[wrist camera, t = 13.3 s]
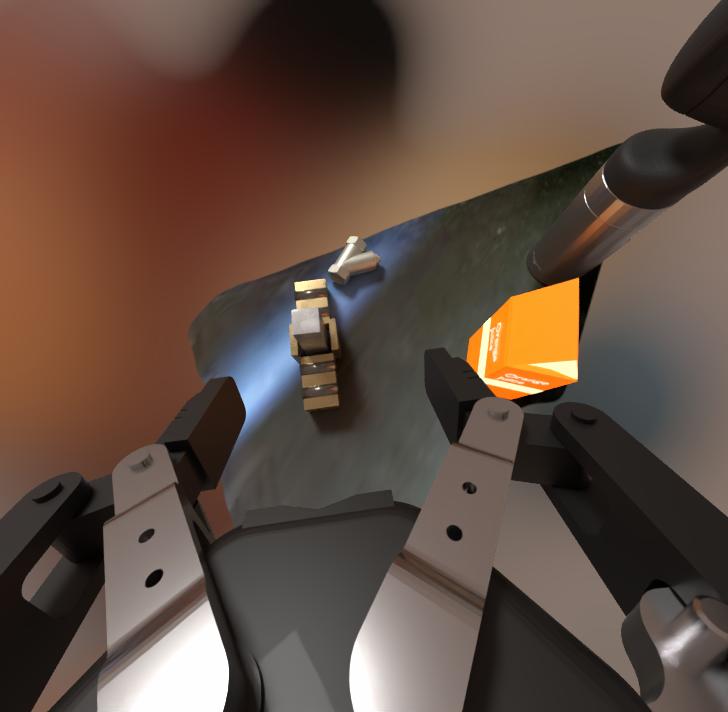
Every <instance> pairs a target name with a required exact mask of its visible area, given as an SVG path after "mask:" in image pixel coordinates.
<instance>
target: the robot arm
mask: <svg viewBox="0 0 728 712" xmlns="http://www.w3.org/2000/svg"><path fill="white" fill-rule="evenodd" d="M661 97H662V99H663V100H664V102H665V103H666V104H667V105H668V106H669V107H670V108H671V109H673V110H674V111H676V112H678V113H681V114H683V115H684V114H685V115H686V116H688V117H691V118H693V119H695V120H698V121H700V122H702V123H705V125H701V126H696V127H691V128H675V129H674V128H673V129H651V130H646V131H642V132H640V133H637V134H635V135H633V136H631V137H630V138H628V139H627V140H626V141H624V142H623V143H622V144H621V145H620V146H619V147H618V148H617V150H616V151H615V152H614V153H613V154H612V155H611V157H610V158H609V159H608V160H607V161H606V163H605V164H604V165H603V166H602V167H601V168H600V170H599V171H598V172H597V173H596V174H595V175H594V177H593V178H592V179H591V180H590V181H589V183H588V184H587V185H586V186H585V187H584V188H583V190H582V191H581V192H580V193H579V194H578V195H577V197H576V198H575V199H574V200H573V201H572V202H571V204H570V205H569V206H568V207H567V208H566V209H565V211H564V212H563V213H562V214H561V215H560V217H559V218H558V219H557V220H556V221H555V222H554V224H553V225H552V226H551V227H550V228H549V229H548V231H547V232H546V233H545V234H544V235H543V236H542V237H541V239H540V240H539V241H538V242H537V243H536V244H535V246H534V247H533V248H532V249H531V250H530V252H529V254H528V257H527V265H528V268H529V270H530V272H531V274H532V275H533V276H534V277H535V278H536V279H537V280H538V281H540V282H542V283H544V284H546V285H549V286H552V285H556V284H559V283H562V282H566V281H569V280H573V279H576V278H579V277H581V276H584V275H585V274H587V273H588V272H589V271H591V270H592V269H593V268H594V267H596V266H597V265H598V264H600V263H601V262H602V261H604V260H605V259H606V258H608V257H609V256H610V255H611V254H613V253H614V252H615V251H617V250H618V249H619V248H621V247H622V246H623V245H625V244H626V243H627V242H629V240H630V239H631V237H632V236H634V235H635V234H637V233H638V232H639V231H640V230H642V229H643V228H644V227H646V226H647V225H648V224H649V223H651V222H652V221H653V220H655V219H656V218H657V217H658V216H660V215H661V214H662V213H663V212H665V211H666V210H668V209H669V208H670V207H671V206H673V205H674V204H675V203H677V202H678V201H679V200H681V199H682V198H683V197H685V196H686V195H687V194H688V193H690V192H692V191H694V190H695V189H697V188H698V187H700V186H701V185H703V184H704V183H706V182H707V181H708V180H709V179H711V178H712V177H714V176H715V175H716V174H718V173H719V172H720V171H721V170H723V169H724V168H726V167H727V166H728V0H721V1H720V2H719V3H718V4H717V5H716V7H715V8H714V9H713V10H712V11H711V12H710V13H709V15H708V16H707V17H706V18H705V19H704V20H703V21H702V23H701V24H700V25H699V26H698V28H697V29H696V30H695V31H694V33H693V34H692V35H691V36H690V38H689V39H688V40H687V42H686V43H685V45H684V46H683V47H682V49H681V50H680V52H679V53H678V55H677V56H676V58H675V59H674V61H673V62H672V64H671V66H670V68H669V70H668V72H667V74H666V76H665V78H664V82H663V85H662V89H661ZM424 361H425V388H426V393H427V396H428V398H429V400H430V402H431V404H432V406H433V408H434V410H435V413H436V415H437V417H438V419H439V421H440V423H441V425H442V427H443V429H444V432H445V434H446V436H447V438H448V440H449V442H450V444H451V446H450V448H449V450H448V453H447V455H446V457H445V459H444V461H443V464H442V466H441V468H440V470H439V472H438V474H437V477H436V479H435V481H434V483H433V485H432V488H431V490H430V492H429V494H428V496H427V498H426V501H425V503H424V505H423V507H422V509H420V508H418V507H416V506H413V505H410V504H407V503H403V502H397V501H393V496H392V491H391V490H385V491H378V492H371V493H364V494H357V495H354V496H352V497H349V498H347V499H344V500H342V501H339V502H336V503H334V504H331V505H329V506H326V507H324V508H321V509H309V508H300V507H291V506H276V507H269V508H262V509H256V510H249V511H247V512H246V515H245V518H244V522H243V525H240V526H238V527H236V528H234V529H232V530H230V531H229V532H227V533H225V534H224V535H222V536H221V537H219V538H218V539H217V540H216V539H215V537H214V535H213V533H212V530H211V527H210V525H209V522H208V520H207V517H206V515H205V512H204V510H203V507H202V505H201V503H200V501H199V500H198V496H199V494H200V492H201V491H206V490H213V489H216V487H217V484H218V482H219V480H220V478H221V475H222V473H223V471H224V468H225V466H226V464H227V461H228V459H229V457H230V454H231V452H232V450H233V447H234V445H235V443H236V440H237V438H238V436H239V433H240V431H241V429H242V426H243V424H244V422H245V418H246V410H245V406H244V403H243V401H242V398H241V396H240V393H239V391H238V388H237V386H236V383H235V381H234V379H233V378H232V377H230V376H229V377H221V378H214V379H210V380H209V381H208V383H207V384H206V385H205V387H204V388H203V390H202V391H201V392H200V393H198V394H196V395H195V396H194V397H192V398H191V399H190V400H188V401H187V403H186V404H185V405H184V406H183V408H182V409H181V412H179V413H178V414H177V416H176V417H175V420H173V421H172V422H171V423H170V425H169V426H168V427H167V429H166V430H165V431H164V433H163V434H162V435H161V436H160V438H159V439H158V440H157V442H156V443H155V444H154V445H149V446H146V447H143V448H141V449H138V450H137V451H135V452H133V453H131V454H130V455H128V456H127V457H125V458H124V459H123V460H122V461H121V462H120V463H119V464H118V465H117V466H116V467H115V469H114V471H113V473H112V474H110V475H107V476H104V477H101V478H98V479H95V480H93V481H90V482H87V481H86V480H85V479H84V478H83V477H82V475H80V474H79V473H77V472H69V473H65V474H62V475H59V476H56V477H54V478H51V479H49V480H47V481H46V482H44V483H42V484H40V485H39V486H37V487H36V488H34V489H33V490H31V491H30V492H29V493H28V494H26V495H25V496H24V497H23V498H22V499H21V500H20V501H19V502H18V503H17V504H16V505H15V506H14V507H13V508H12V509H11V510H10V511H9V512H8V513H7V514H6V515H5V516H4V517H3V518H1V519H0V712H31V711H32V709H33V707H34V706H35V704H36V702H37V700H38V698H39V697H40V695H41V693H42V691H43V690H44V688H45V686H46V684H47V683H48V681H49V679H50V677H51V676H52V674H53V672H54V670H55V669H56V667H57V665H58V663H59V661H60V660H61V658H62V656H63V655H64V653H65V651H66V649H67V647H68V646H69V644H70V642H71V641H72V639H73V637H74V635H75V634H76V632H77V630H78V628H79V626H80V625H81V623H82V621H83V620H84V618H85V616H86V614H87V613H88V611H89V609H90V607H91V605H92V604H93V602H94V600H95V599H96V597H97V595H98V593H99V591H100V590H101V588H102V586H103V585H104V583H105V589H106V590H105V591H106V618H107V619H106V620H107V646H108V650H107V651H106V652H105V653H104V654H103V655H102V656H101V657H100V658H99V659H98V660H97V661H96V662H95V663H94V664H93V665H92V666H91V667H90V669H88V670H87V672H85V673H84V675H83V676H82V677H81V678H80V679H79V680H78V681H77V682H76V683H75V684H74V685H73V686H72V687H71V688H70V689H69V690H68V691H67V692H66V693H65V694H64V695H63V696H62V698H60V699H59V701H57V703H56V704H55V705H54V706H53V707H52V708H51V709H50V710H49V711H48V712H728V517H727V516H726V515H725V514H723V513H722V512H721V511H720V510H719V509H718V508H716V507H715V506H714V505H713V504H712V503H710V502H709V501H708V500H707V499H706V498H704V497H703V496H702V495H701V494H700V493H699V492H697V491H696V490H695V489H694V488H693V487H692V486H690V485H689V484H688V483H687V482H686V481H684V480H683V479H682V478H681V477H680V476H679V475H677V474H676V473H675V472H674V471H673V470H672V469H670V468H669V467H668V466H667V465H665V464H664V463H663V462H662V461H661V460H659V458H657V457H656V456H655V455H654V454H653V453H651V452H650V451H649V450H648V449H647V448H645V447H644V446H643V445H642V444H641V443H640V442H638V441H637V440H636V439H635V438H634V437H633V436H631V435H630V434H629V433H628V432H627V431H625V430H624V429H623V428H622V427H621V426H620V425H618V424H617V423H616V422H615V421H614V420H612V419H611V418H610V417H609V416H608V415H606V414H605V413H604V412H602V411H600V410H599V409H596V408H594V407H592V406H589V405H585V404H581V403H575V402H566V403H562V404H559V405H557V406H556V407H555V408H554V411H553V415H540V414H529V413H523V411H522V409H521V408H520V407H519V406H518V405H517V404H515V403H514V402H512V401H510V400H507V399H504V398H499V397H496V395H495V394H494V393H493V392H492V391H491V389H490V388H489V387H488V386H487V385H486V383H485V382H484V381H483V380H482V379H481V378H480V377H479V375H478V374H477V373H476V371H474V369H473V368H472V367H471V365H470V364H469V363H468V362H466V361H464V360H462V359H460V358H459V357H456V358H452V357H451V356H450V355H449V353H448V352H447V351H446V349H445V348H436V349H428V350H425V355H424ZM510 480H515V481H523V482H529V483H536V484H540V485H541V486H542V488H543V489H544V491H545V493H546V494H547V496H548V497H549V499H550V500H551V502H552V503H553V505H554V506H555V508H556V509H557V511H558V512H559V514H560V516H561V517H562V519H563V520H564V522H565V523H566V525H567V526H568V528H569V529H570V531H571V532H572V534H573V536H574V537H575V539H576V540H577V542H578V543H579V545H580V546H581V548H582V549H583V551H584V553H585V554H586V555H587V557H588V559H589V560H590V562H591V563H592V565H593V566H594V568H595V569H596V571H597V572H598V574H599V576H600V577H601V579H602V580H603V582H604V583H605V585H606V586H607V588H608V589H609V591H610V592H611V594H612V595H613V597H614V599H615V600H616V602H617V603H618V605H619V606H620V608H621V609H622V611H623V612H624V614H625V615H626V618H625V619H624V621H623V623H622V627H621V637H622V642H623V645H624V648H625V651H626V653H627V655H628V657H629V659H630V661H631V664H632V666H633V668H634V670H635V673H636V675H637V678H638V681H639V686H640V696H641V697H640V696H639V695H638V694H637V692H636V691H635V690H634V689H633V688H632V687H631V686H630V685H629V684H628V683H627V682H626V681H625V680H624V679H623V678H622V677H621V676H620V675H619V674H618V673H617V672H616V671H615V670H613V669H612V668H611V667H610V666H609V665H608V664H606V663H605V662H604V661H603V660H602V659H601V658H599V657H598V656H597V655H596V654H595V653H594V652H593V651H591V650H590V649H589V648H588V647H587V646H585V645H584V644H583V643H582V642H581V641H580V640H578V639H577V638H576V637H575V636H574V635H573V634H571V633H570V632H569V631H568V630H567V629H566V628H564V627H563V626H562V625H561V624H560V623H559V622H557V621H556V620H555V619H554V618H553V617H551V616H550V615H549V614H548V613H547V612H546V611H544V610H543V609H542V608H541V607H540V606H539V605H537V604H536V603H535V602H534V601H533V600H532V599H530V598H529V597H528V596H527V595H526V594H525V593H523V592H522V591H521V590H520V589H519V588H518V587H516V586H515V585H514V584H513V583H512V582H511V581H509V580H508V579H507V578H506V577H505V576H503V575H502V574H501V573H500V572H499V571H498V570H496V569H495V568H494V567H493V561H494V557H495V551H496V547H497V542H498V537H499V533H500V528H501V523H502V518H503V513H504V509H505V504H506V499H507V495H508V490H509V485H510ZM50 545H51V546H52V547H54V548H55V549H56V550H57V551H59V553H61V554H62V555H63V557H62V558H61V560H60V561H59V562H58V564H57V565H56V566H55V568H54V569H53V570H52V572H51V573H50V574H49V576H48V577H47V578H46V580H45V581H44V583H43V584H42V585H41V587H40V588H39V589H38V591H37V592H36V594H35V595H34V596H33V598H32V599H31V600H30V602H28V601H26V600H25V599H24V598H23V596H22V593H21V592H22V591H21V590H22V584H23V582H24V580H25V578H26V576H27V575H28V573H29V572H30V571H31V569H32V568H33V567H34V565H35V564H36V563H37V562H38V560H39V559H40V558H41V557H42V555H43V554H44V553H45V552H46V550H47V549H48V548H49V547H50Z"/></svg>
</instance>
